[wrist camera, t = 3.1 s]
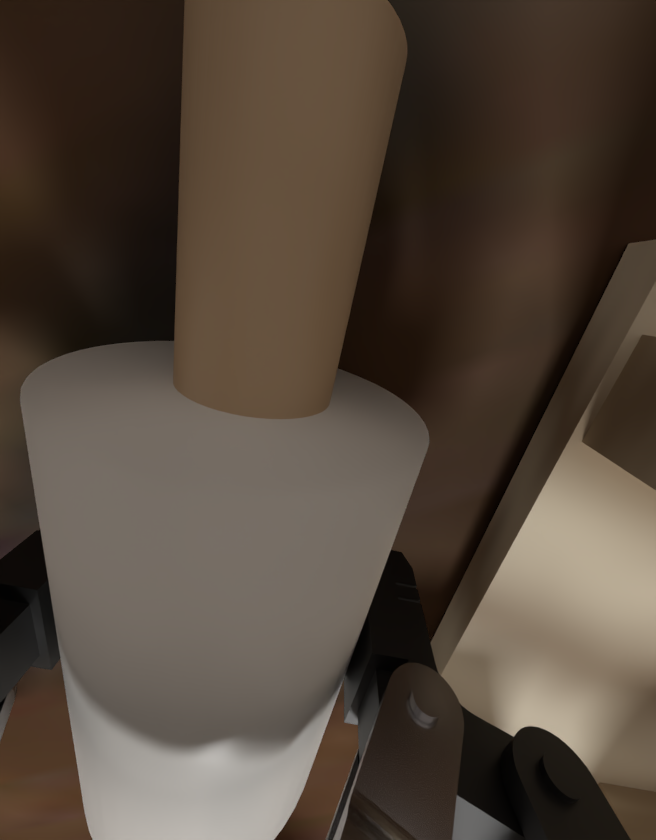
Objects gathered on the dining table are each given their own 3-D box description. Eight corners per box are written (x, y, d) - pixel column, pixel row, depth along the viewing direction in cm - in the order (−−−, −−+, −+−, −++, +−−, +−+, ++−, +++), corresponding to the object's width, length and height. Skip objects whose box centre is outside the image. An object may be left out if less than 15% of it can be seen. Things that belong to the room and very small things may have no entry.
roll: (174, 104, 7) (-655, -776, 1) (461, 172, 7) (945, -306, 1) (161, 677, 14) (36, 940, 8) (301, 704, 14) (272, 977, 8)
